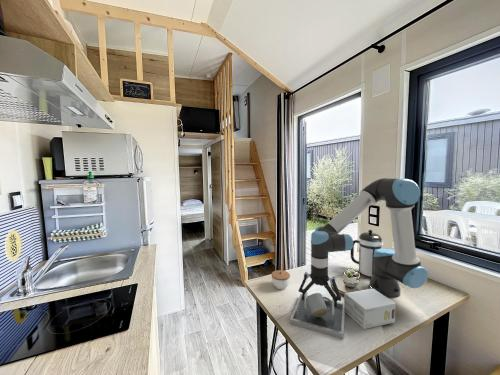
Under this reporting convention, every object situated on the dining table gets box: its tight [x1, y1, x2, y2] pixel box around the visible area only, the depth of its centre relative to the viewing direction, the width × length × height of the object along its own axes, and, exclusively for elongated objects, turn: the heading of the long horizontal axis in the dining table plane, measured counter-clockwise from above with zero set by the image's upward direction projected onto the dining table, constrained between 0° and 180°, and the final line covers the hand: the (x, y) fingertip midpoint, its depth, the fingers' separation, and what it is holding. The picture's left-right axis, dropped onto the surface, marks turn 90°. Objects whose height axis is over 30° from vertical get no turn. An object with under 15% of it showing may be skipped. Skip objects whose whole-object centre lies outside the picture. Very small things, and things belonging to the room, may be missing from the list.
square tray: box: [289, 293, 346, 340], centre depth 101 cm, size 22×22×2 cm
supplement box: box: [343, 288, 397, 330], centre depth 100 cm, size 17×13×9 cm
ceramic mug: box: [307, 292, 332, 317], centre depth 100 cm, size 11×8×8 cm
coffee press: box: [350, 229, 384, 278], centre depth 139 cm, size 17×16×30 cm
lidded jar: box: [271, 269, 291, 290], centre depth 127 cm, size 11×11×9 cm
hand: (319, 309), depth 101 cm, fingers closed on ceramic mug, 12 cm apart
